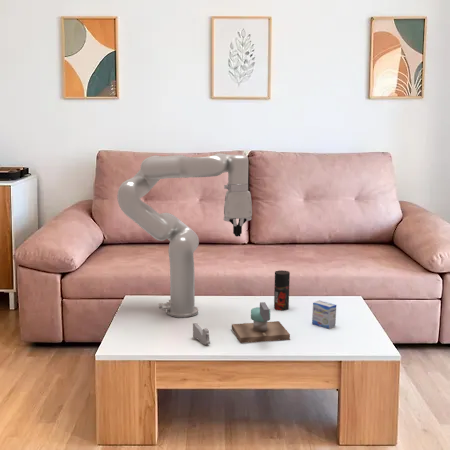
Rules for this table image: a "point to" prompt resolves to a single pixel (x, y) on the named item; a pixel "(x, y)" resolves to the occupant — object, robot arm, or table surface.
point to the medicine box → (324, 314)
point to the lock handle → (260, 313)
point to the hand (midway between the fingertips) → (237, 235)
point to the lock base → (260, 332)
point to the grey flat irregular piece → (201, 334)
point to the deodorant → (281, 290)
